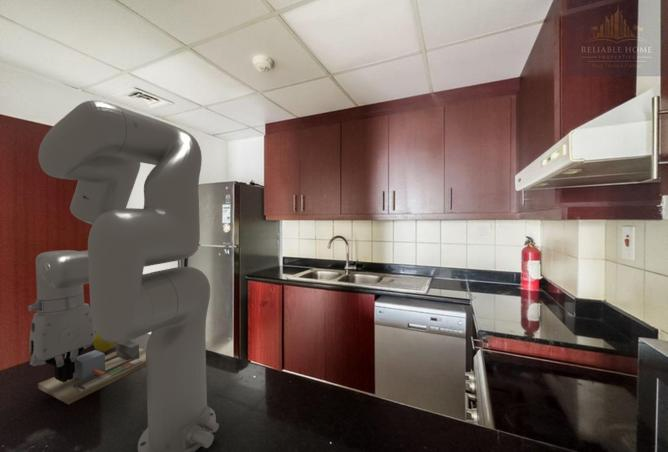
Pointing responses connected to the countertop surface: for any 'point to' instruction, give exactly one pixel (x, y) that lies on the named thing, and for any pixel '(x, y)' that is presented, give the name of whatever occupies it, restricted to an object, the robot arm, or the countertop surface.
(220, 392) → the countertop surface
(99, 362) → the slider block with pointer
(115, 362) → the gauge board
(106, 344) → the lemon
